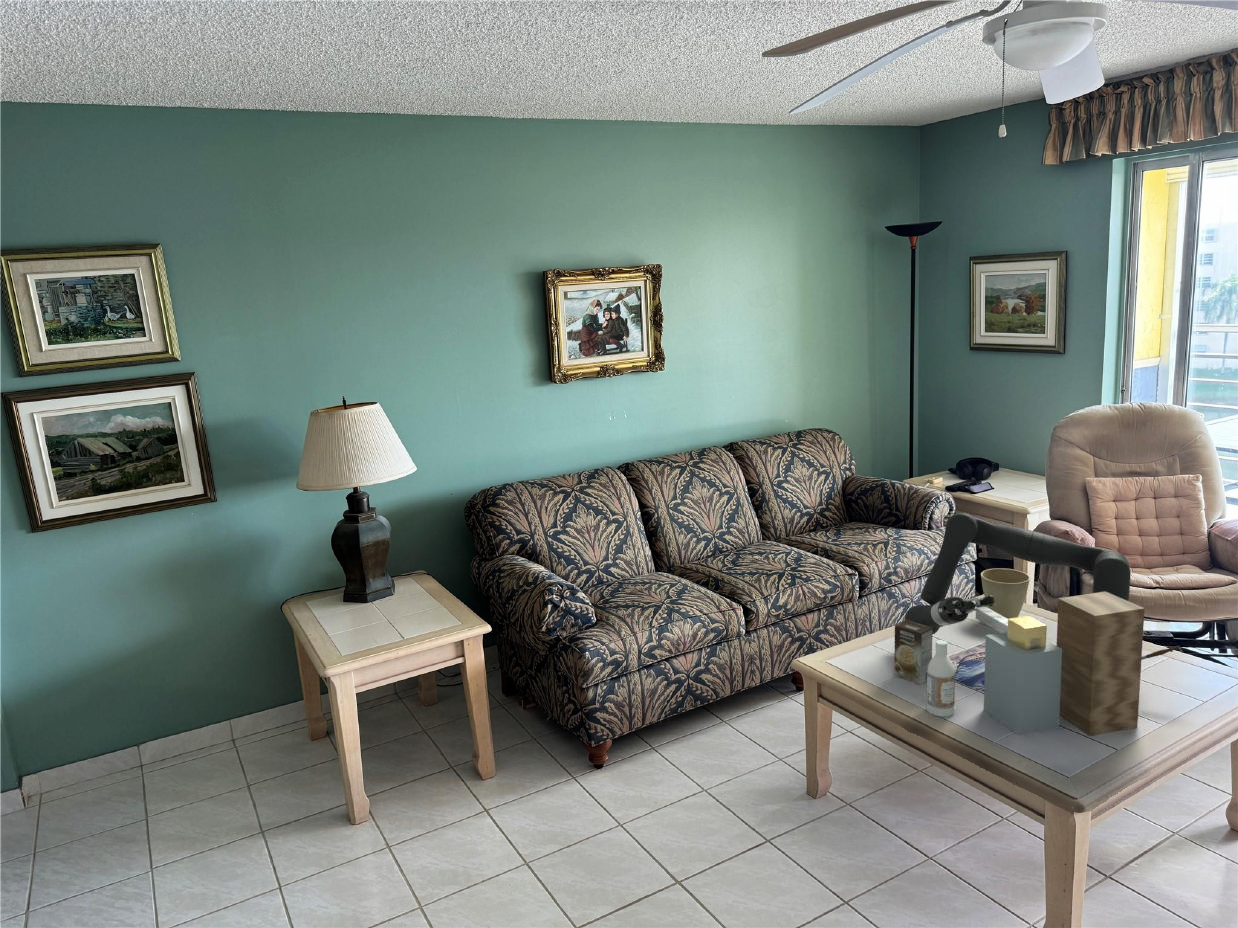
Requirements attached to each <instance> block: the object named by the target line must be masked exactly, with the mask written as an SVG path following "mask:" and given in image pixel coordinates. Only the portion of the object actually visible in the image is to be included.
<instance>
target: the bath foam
mask: <svg viewBox="0 0 1238 928" xmlns="http://www.w3.org/2000/svg"><path fill="white" fill-rule="evenodd" d="M926 683H927V685H926V688H927V689H926V693H927V694H926V702H927V703H926V709H927V711H928V713H929V714H930V715H933V716H935V717H940V718H946V717H947V718H948V717H950V716H953V715H954V713H955V703H956V702H955V701H956V699H955V698H956V697H955V695H956V693H955V692H956V668H955V665H954V663H953V661H952V660H951V658H950V657H949V655H948V642H947V641H946V640H941V639H940V640H939V639H938V640H936V641H935V654H934V655H933V656H932V659H931V661H930V662H929V665H928V670H927V681H926Z"/></svg>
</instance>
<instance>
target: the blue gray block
mask: <svg viewBox="0 0 1238 928" xmlns="http://www.w3.org/2000/svg"><path fill="white" fill-rule="evenodd" d="M984 643H985V645H984V646H985V647H984V649H985V650H984V685H983V686H984V687H983V688H984V689H983V690H984V691H983V692H984V693H983V711H985V712H986V713H987V714H988V715H990V717H991V716H992V718H994V719H995V720H997V721H998V722H999V723H1001V725H1003V726H1005V727H1006V728H1007V729H1008V730H1010V731H1011V732H1013V733H1014V734H1015V735H1017V736H1020V735H1024V734H1030V733H1031V734H1032V733H1037V732H1041V731H1049V730H1053V729H1057V728H1058V729H1059V727H1060V716H1059V713H1060V688H1061V664H1062V649H1061V648H1059V647H1057V644H1054V643H1052V642H1050V641H1049V640H1047V639H1046V648H1040V649H1034V650H1028V651H1024V650H1022V649H1021V648H1019V647H1017V646H1016V645H1014V644H1012V643H1011V642H1009V641H1007V636H1005V635H1003V634H1002V633H1000V632H997V633H992V634H986V635H985V641H984Z"/></svg>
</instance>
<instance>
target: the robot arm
mask: <svg viewBox="0 0 1238 928" xmlns="http://www.w3.org/2000/svg"><path fill="white" fill-rule="evenodd" d="M944 528H945V530H944V534H943V535H944V536H943V540H942V544H941V546H940V550H939V553H938V556H937V557H936V559H935V562H934V564H933V566H932V568H931V569H930V571H929V574H928V575H927V578H926V580H925V583H924V585H923V588H922V590H921V593H920V599H921V601H924V602H925V603H927V605H925V604H923V605H921V604H919V605H913V606H912V607H909V609H907V611H906V612H905V614H904V620H906V619H907V620H910V621H913V622H916V623H920V624H923V625H926V626H929V627H932V628H933V633H932V636H933V635H935V634H936V633H938V631H939V630H940V628H942V627H945V626H952V625H955V624H958V623H961V622H964V621H966V620H967V618H968V616H969V614H971V613H973V612H976V608H980V607H989V606H993V603H994V602H995V601H994V598H993V596H988V597H984V596H983V597H982V598H979V597H972V598H970V599H969V598H965V599H963V598H962V597H960V596H957V595H953V596H949V597H946V596H947V595H948V593H949V590H950V588H951V585H952V582H953V579H954V576H955V573H956V571H957V567H958V565H959V562H960V560H961V558H962V556H963V554H964V552H965V551H966V549H967V547H968V546H969V544H975V545H981V546H985V547H989V548H992V549H995V550H997V551H999V552H1002V553H1004V554H1006V555H1008V556H1011V557H1013V558H1014V557H1015V558H1017V559H1020V560H1022V561H1026V562H1029V563H1034V564H1039V565H1043V566H1049V567H1050V566H1053V567H1055V566H1056V567H1057V566H1058V567H1059V566H1060V567H1069V568H1071V567H1072V568H1075V569H1080V570H1083V571H1085V572H1089V573H1091V574H1093V582H1092V584H1093V585H1092V593H1098V592H1105V591H1106V592H1108V593H1110V594H1113V595H1115V596H1117V597H1119V598H1122V599H1124V600H1126V601H1129V602H1130V590H1131V589H1130V588H1131V587H1130V586H1131V567H1130V564H1129V562H1128V559H1127V558H1126V556H1125V555H1123V554H1122V553H1121V552H1119V551H1116V550H1114V549H1109V548H1103V547H1096V546H1092V545H1091V546H1090V545H1083V544H1080V543H1077V542H1073V541H1070V540H1066V539H1064V538H1059V537H1056V536H1053V535H1049V534H1046V533H1042V532H1038V531H1035V530H1031V529H1026V528H1021V527H1015V526H1011V525H1009V526H1008V525H1001V524H996V523H993V522H990V521H987V520H984V519H981V518H979V517H977V516H973V515H971V514H969V513H966V512H956V513H953V514H952V515H951V516H949V518H948V519H947V520H946V523H945V527H944ZM973 601H974V602H973Z"/></svg>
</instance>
